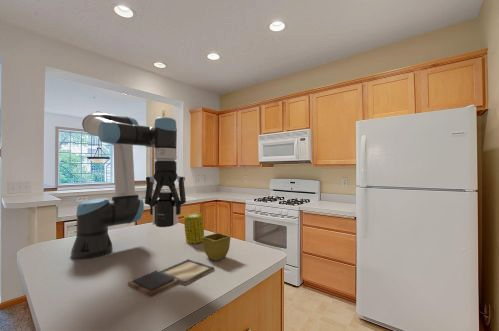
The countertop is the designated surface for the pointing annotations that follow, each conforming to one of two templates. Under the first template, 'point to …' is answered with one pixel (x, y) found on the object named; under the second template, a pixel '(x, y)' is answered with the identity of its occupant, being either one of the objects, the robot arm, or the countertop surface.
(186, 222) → the food
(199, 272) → the board
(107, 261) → the countertop surface
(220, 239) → the flower pot
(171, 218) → the supplement bottle
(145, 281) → the pad
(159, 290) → the ink tray
